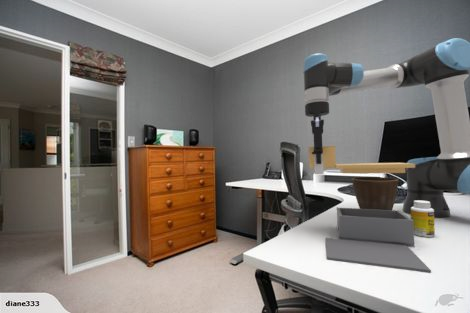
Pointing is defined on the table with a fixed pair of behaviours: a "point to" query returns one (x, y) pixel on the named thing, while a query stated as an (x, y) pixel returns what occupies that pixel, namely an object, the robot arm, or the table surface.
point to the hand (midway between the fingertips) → (319, 173)
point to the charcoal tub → (375, 226)
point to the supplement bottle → (423, 218)
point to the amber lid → (358, 167)
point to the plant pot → (375, 192)
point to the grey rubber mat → (374, 254)
